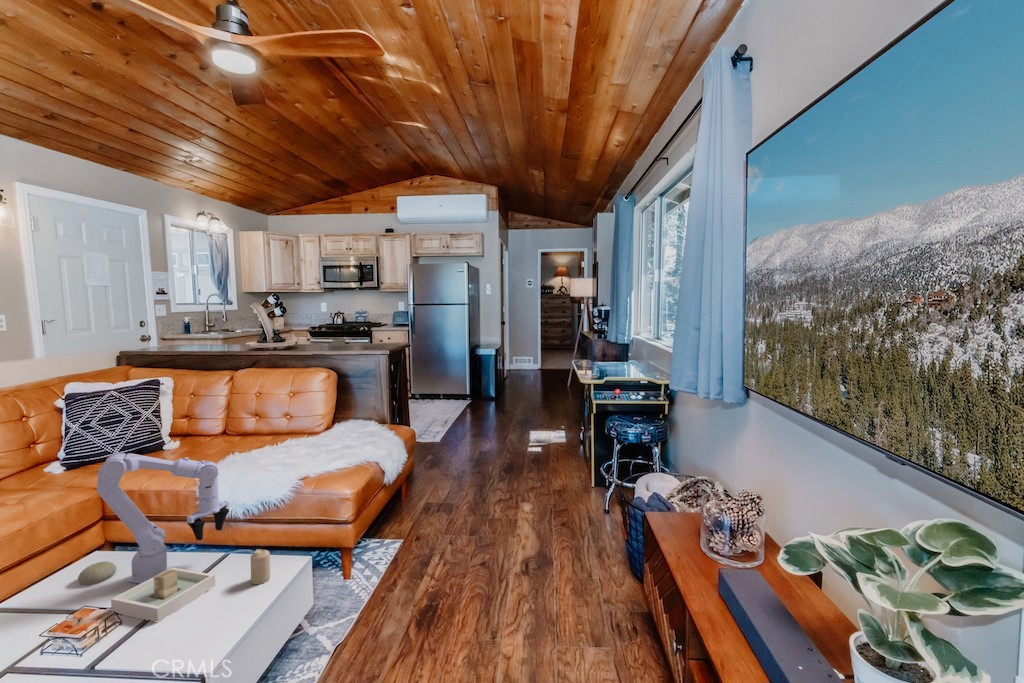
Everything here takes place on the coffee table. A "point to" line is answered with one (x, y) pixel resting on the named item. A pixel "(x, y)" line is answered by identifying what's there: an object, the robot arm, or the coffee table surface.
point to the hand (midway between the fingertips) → (209, 534)
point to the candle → (260, 566)
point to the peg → (165, 584)
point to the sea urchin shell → (97, 573)
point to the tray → (149, 608)
